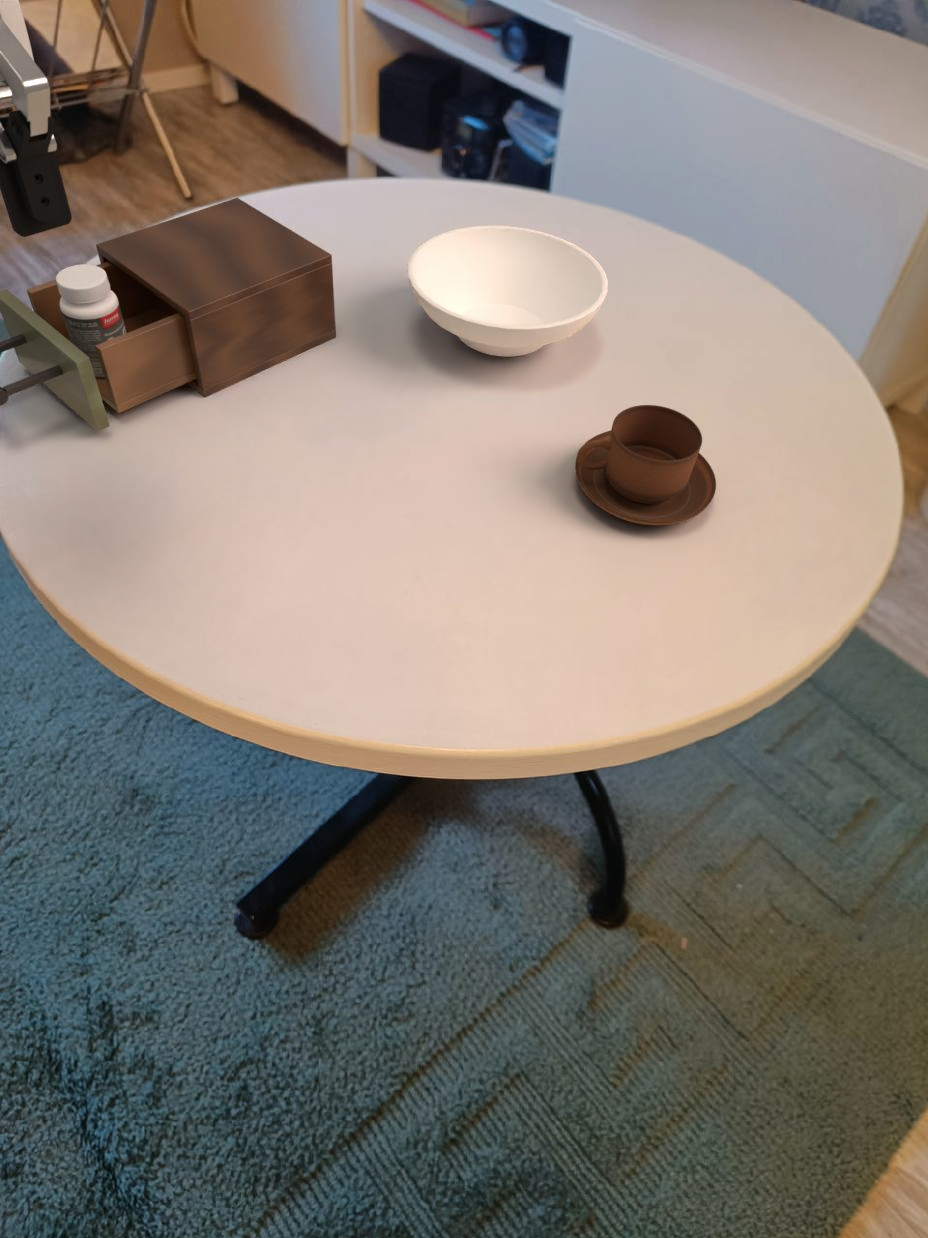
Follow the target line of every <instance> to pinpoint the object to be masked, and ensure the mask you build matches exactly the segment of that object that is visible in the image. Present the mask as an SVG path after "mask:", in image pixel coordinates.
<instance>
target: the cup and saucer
mask: <svg viewBox="0 0 928 1238" xmlns="http://www.w3.org/2000/svg"><path fill="white" fill-rule="evenodd" d="M612 421H613V422H612V425H611V430H607V431H603V432H601V433H599V434H596V435H595V436H593V437H591V438H589V439H588V440H587V441H586V442H585V443H584V444H583V445H582V446H581V447H580V448H579V450H578V451H577V454H576V456H575V464H574V465H575V466H574V470H575V477H576V480H577V482H578V485H579V487H580V489H581V490H582V491H583V493H584V494H585V495H586V496H587V498H588V499H589V500H590V501H591V502H592V503H593V504H595V505H596V506H598V507H599V508H600V509H602V510H603V511H605V512H606V513H608V514H610V515H612V516H614V517H616V518H619V519H620V520H624V521H627V522H630V523H632V524H633V523H634V524H639V525H645V526H666V525H675V524H679V523H683V522H686V521H689V520H691V519H693V518H695V517H697V516H698V515H700V514H701V513H702V512H704V511H705V509H707V508H708V506H709V505H710V503H711V502H712V501H713V499H714V497H715V494H716V490H717V480H716V475H715V473H714V472H715V471H714V469H713V468H712V466H711V464H710V463H709V461H708V460H707V459H706V457H704V455H702V454H701V453H700V450H701V448H702V445H703V435H702V432H701V429H700V428H699V426H698V425H697V424H696V422H694V421H693V420H692V419H691V418H689V417H688V416H686V414H684V413H682V412H679V411H678V410H675V409H672V408H669V407H666V406H662V405H656V404H642V405H641V404H640V405H633V406H630V407H628V408H626V409H623V410H622V411H620V412H619V413H618V414H617V415H616V416H615V417H614V419H613V420H612Z"/></svg>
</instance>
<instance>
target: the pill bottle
mask: <svg viewBox="0 0 928 1238" xmlns="http://www.w3.org/2000/svg"><path fill="white" fill-rule="evenodd" d="M55 279H56V282H57V286H58V290H59V293H60V295H61V296H62V297H61V299H60V309H61V313H62V316H63V319H64V322H65V325H66V329H67V332H68V335H69V338H70V341H71V343H72V344H74V345H75V346H76V347H77V348H78V349H80V350H81V351H82V352H83V353H84V354H86V355H87V356H88V357H89V359H90V362H91V365H92V369H93V372H94V375H95V377H104V374H103V370H102V367H101V363H100V360H99V357H98V353H97V350H96V345H98V344H101V343H103V342H106V341H108V340H111V339H114V338H116V337H119V336H121V335H124V334H126V329H125V325H124V321H123V317H122V313H121V309H120V305H119V302H118V299H117V296H116V295H115V293H114V292H113V291H111V290H110V284H109V281H108V278H107V275H106V272H105V271H104V270H103V269H102V268H100V267H98V266H96V265H94V264H86V263H85V264H84V263H82V264H75V265H71V266H68V267H65V268H63V269H61V270H60V271H59V272H57V274H56V277H55Z"/></svg>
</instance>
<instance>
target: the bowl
mask: <svg viewBox="0 0 928 1238" xmlns="http://www.w3.org/2000/svg"><path fill="white" fill-rule="evenodd" d="M407 278H408V282H409V285H410V288H411V291H412V292H413V295H414V297H415V300H416V302H417V303H418V305H420V307H421V308H422V309H423V310H424V312H425V313H426V315H427V316H428V317H429V318H430V319H431V320H432V321H433V322H435V323H436V324H437V325H438V326H439V327H440V328H442V329H444V330H446V331H448V332H449V333H451V334H453V335H454V336H457V338H458V339H459V340H460V341H461V342H463V343H464V344H465V345H466V346H468V347H469V348H471V349H473V350H474V351H477V352H480V353H482V354H486V355H490V356H497V357H510V358H511V357H522V356H525V355H529V354H531V353H534V352H537V351H538V350H539V349H541V348H543V347H544V346H545V345H549V344H554V343H557V342H559V341H562V340H565V339H567V338H569V337H571V336H573V335H575V334H576V333H577V332H579V331H580V330H581V329H582V328H583V327H585V326H586V325H587V324H588V323H589V322H590V321H591V320H592V319H593V318H594V317H595V316H596V315H597V313H598V312H599V310H600V309H601V307H602V305H603V303H604V301H605V299H606V297H607V294H608V289H609V280H608V277H607V274H606V271H605V270H604V268H603V267H602V266H601V264H600V263H599V261H598V260H596V259H595V257H593V256H592V255H591V254H590V253H589V252H587V251H586V250H584V249H583V248H581V247H580V246H578V245H576V244H574V243H573V242H570V241H568V240H566V239H564V238H562V237H560V236H557V235H553V234H550V233H547V232H544V231H540V230H536V229H531V228H526V227H519V226H512V225H495V224H494V225H493V224H492V225H491V224H490V225H489V224H488V225H474V226H467V227H461V228H455V229H452V230H448V231H445V232H442V233H439V234H437V235H435V236H432V237H430V238H429V239H427V240H426V241H424V242H423V243H421V244H420V245H419V246H417V247H416V249H415V250H414V251H413V252H412V253H411V255H410V257H409V259H408V263H407Z"/></svg>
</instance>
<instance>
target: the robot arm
mask: <svg viewBox="0 0 928 1238" xmlns="http://www.w3.org/2000/svg"><path fill="white" fill-rule="evenodd" d="M21 8H22V7H21V4H20V0H0V110H1V109H6V108H11V107H15V110H13V111H9V113H8V118H7V121H6V126H5V127H4V126H3V124H2V122H0V193H1V196H2V199H3V203H4V206H5V209H6V212H7V216H8V218H9V221H10V225H11V228H12V230H13V232H15V233H16V235H18V236H20V237H22V238H28V237H29V236H33V235H36V234H37V235H38V234H41V233H44V232H46V231H50V230H54V229H57V228H61V227H63V226H67V225H68V224H70V223H71V222H72V220H73V217H72V216H73V215H72V212H71V208H70V204H69V200H68V197H67V192H66V190H65V189H66V188H65V185H64V182H63V181H64V180H63V177H62V173H61V170H60V166H59V162H58V157H57V153H56V151H57V150H58V144H57V140H56V137H55V135H54V132H55V124H56V121H55V119H53V113H52V111H51V87H50V83H49V81H48V78H47V76H46V75H45V73H44V72H43V70H41V67H39V66H38V64H37V63H36V62H35V59H34V55H33V49H32V45H31V41H30V38H29V33H28V29H27V25H26V22H25V17H24V15H23V11H22V9H21Z"/></svg>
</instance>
